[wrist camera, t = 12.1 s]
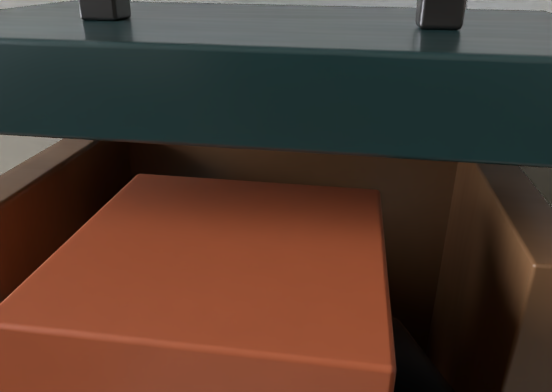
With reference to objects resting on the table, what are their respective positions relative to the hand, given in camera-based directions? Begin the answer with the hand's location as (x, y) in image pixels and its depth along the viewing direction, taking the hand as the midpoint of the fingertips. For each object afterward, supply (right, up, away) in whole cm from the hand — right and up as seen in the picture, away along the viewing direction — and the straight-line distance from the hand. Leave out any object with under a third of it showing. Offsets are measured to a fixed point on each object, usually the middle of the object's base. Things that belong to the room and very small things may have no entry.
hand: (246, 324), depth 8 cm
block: (0, 0, +1) cm, 1 cm away
